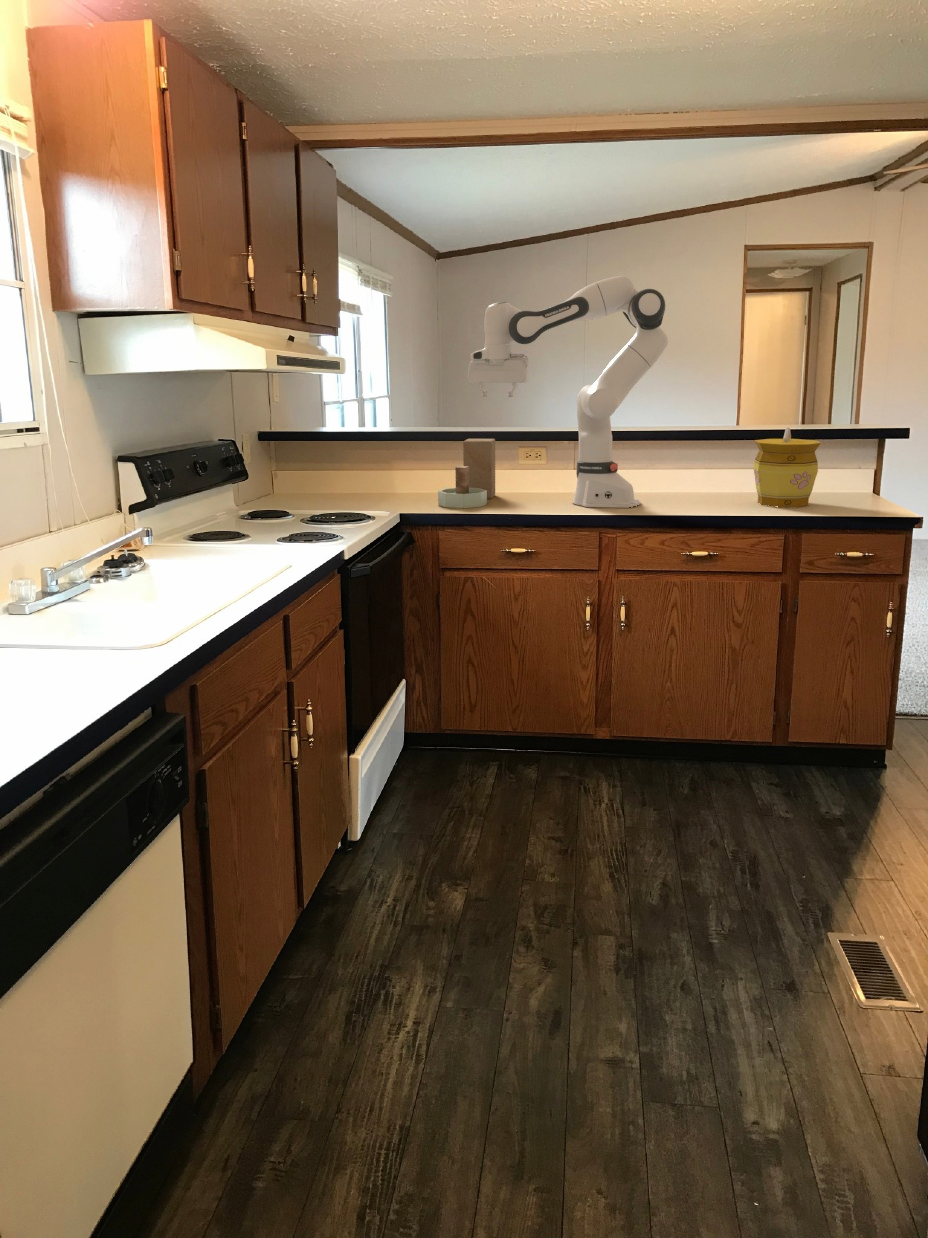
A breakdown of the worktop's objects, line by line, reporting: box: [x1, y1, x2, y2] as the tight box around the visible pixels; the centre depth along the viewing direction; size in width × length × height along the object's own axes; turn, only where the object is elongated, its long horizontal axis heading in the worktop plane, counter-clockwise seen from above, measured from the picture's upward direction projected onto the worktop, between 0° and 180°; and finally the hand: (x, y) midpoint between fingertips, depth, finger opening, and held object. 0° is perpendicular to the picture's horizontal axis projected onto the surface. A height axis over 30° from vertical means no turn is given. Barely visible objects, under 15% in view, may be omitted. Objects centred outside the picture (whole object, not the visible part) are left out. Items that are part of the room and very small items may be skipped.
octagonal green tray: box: [437, 487, 488, 509], centre depth 334 cm, size 15×15×5 cm
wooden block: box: [462, 438, 496, 500], centre depth 348 cm, size 10×10×20 cm
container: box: [752, 427, 822, 509], centre depth 325 cm, size 21×21×25 cm
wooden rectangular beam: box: [455, 465, 469, 494], centre depth 332 cm, size 4×4×12 cm
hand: (497, 396), depth 329 cm, fingers open, 8 cm apart
